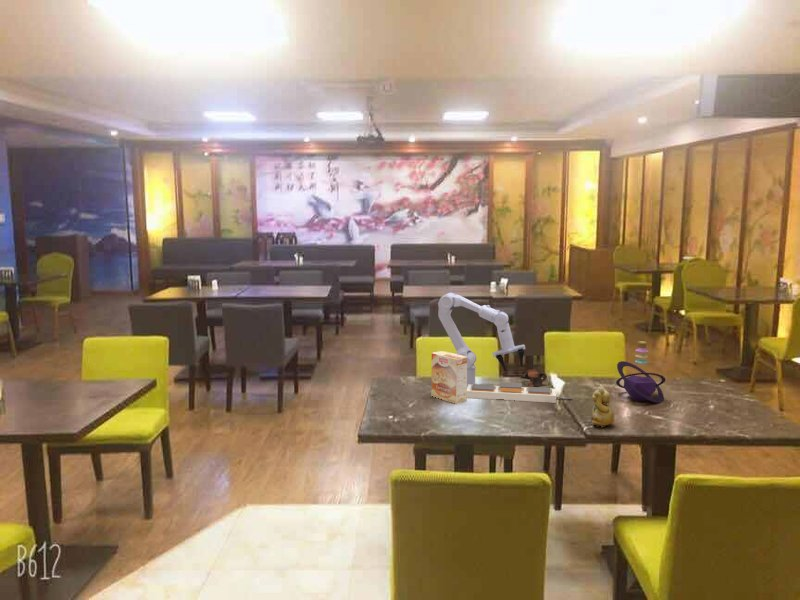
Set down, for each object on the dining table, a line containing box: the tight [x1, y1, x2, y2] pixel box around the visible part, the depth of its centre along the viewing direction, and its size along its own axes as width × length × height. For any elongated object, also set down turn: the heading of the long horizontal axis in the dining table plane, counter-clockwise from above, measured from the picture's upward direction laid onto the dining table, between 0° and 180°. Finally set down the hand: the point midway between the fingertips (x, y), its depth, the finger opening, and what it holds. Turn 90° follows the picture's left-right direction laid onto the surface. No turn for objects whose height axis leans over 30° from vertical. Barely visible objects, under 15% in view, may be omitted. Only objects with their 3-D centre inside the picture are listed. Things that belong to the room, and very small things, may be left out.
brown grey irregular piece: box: [520, 368, 548, 387], centre depth 296 cm, size 12×10×8 cm
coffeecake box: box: [430, 350, 468, 405], centre depth 273 cm, size 15×7×20 cm, turn 42°
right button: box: [528, 386, 551, 395], centre depth 275 cm, size 9×7×2 cm
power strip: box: [467, 384, 573, 404], centre depth 277 cm, size 45×11×3 cm, turn 79°
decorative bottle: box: [615, 340, 667, 404], centre depth 272 cm, size 22×21×25 cm
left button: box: [472, 383, 495, 392], centre depth 279 cm, size 9×7×2 cm
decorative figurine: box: [591, 383, 615, 428], centre depth 240 cm, size 10×8×15 cm
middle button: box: [499, 381, 523, 392], centre depth 277 cm, size 9×7×2 cm
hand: (513, 368), depth 285 cm, fingers open, 7 cm apart
